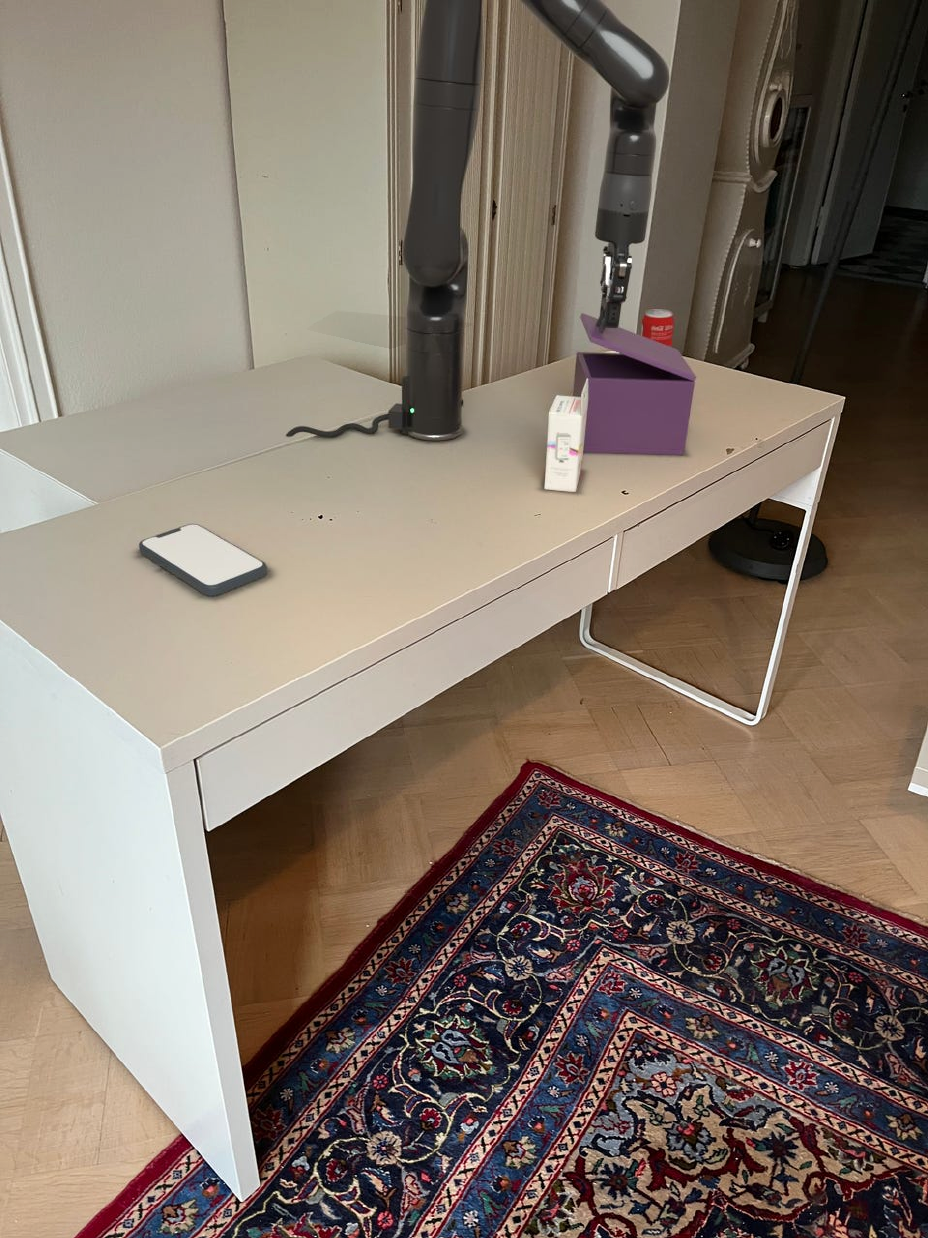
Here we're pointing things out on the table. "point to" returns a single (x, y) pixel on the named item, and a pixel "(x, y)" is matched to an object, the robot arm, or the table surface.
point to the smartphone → (203, 559)
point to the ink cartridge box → (566, 441)
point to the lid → (635, 345)
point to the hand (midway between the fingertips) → (608, 322)
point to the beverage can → (658, 326)
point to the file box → (632, 405)
